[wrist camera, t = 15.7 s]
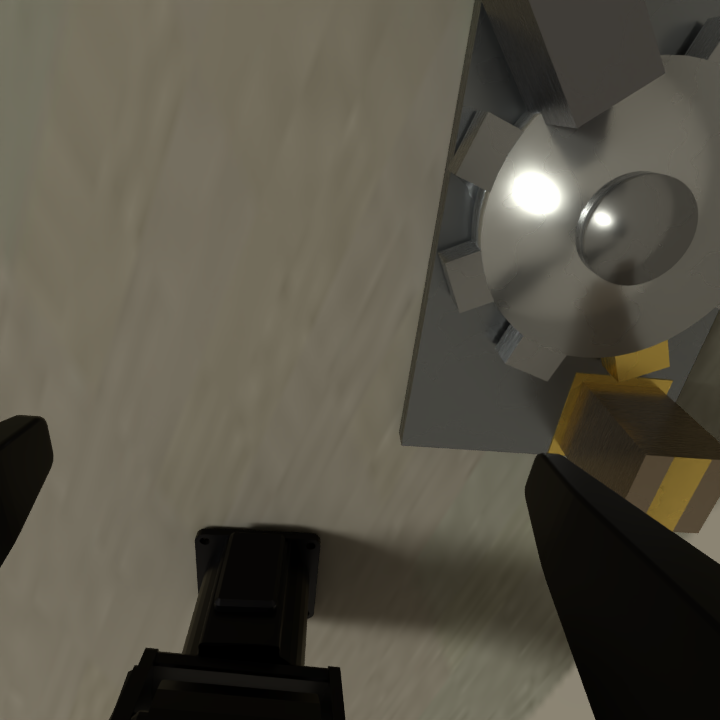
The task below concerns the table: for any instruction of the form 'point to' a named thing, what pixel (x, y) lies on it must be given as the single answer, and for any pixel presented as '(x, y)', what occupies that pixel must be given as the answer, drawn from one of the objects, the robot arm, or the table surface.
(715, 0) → the base plate
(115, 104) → the table surface
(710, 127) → the sprocket
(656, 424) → the striped gift box
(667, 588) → the robot arm
